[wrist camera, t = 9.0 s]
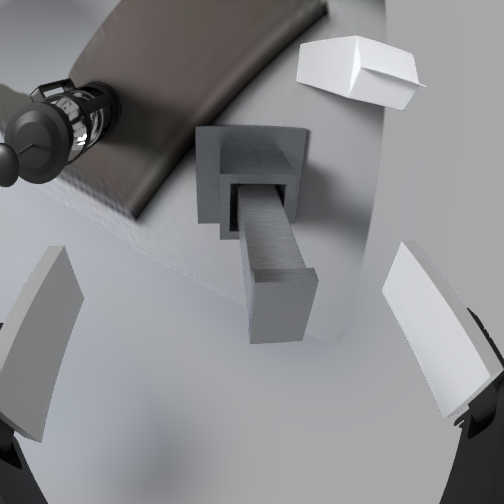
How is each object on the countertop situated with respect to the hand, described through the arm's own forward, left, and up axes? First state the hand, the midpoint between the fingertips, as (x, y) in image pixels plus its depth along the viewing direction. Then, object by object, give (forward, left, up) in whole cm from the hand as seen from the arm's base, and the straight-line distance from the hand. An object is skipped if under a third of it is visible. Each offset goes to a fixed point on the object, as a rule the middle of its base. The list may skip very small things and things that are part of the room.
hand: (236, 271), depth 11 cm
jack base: (+10, +4, -35) cm, 36 cm away
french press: (-2, -20, -35) cm, 40 cm away
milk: (-8, +13, -35) cm, 38 cm away
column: (+10, +4, -27) cm, 29 cm away
